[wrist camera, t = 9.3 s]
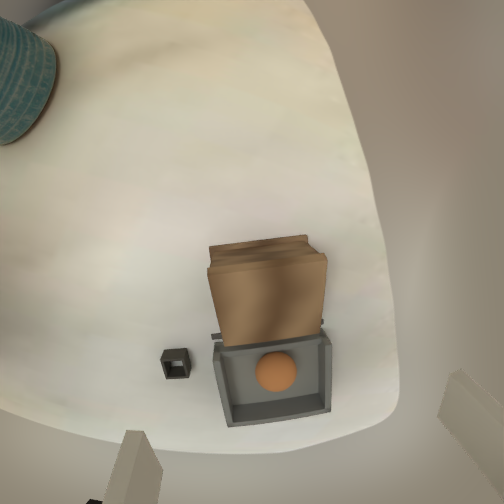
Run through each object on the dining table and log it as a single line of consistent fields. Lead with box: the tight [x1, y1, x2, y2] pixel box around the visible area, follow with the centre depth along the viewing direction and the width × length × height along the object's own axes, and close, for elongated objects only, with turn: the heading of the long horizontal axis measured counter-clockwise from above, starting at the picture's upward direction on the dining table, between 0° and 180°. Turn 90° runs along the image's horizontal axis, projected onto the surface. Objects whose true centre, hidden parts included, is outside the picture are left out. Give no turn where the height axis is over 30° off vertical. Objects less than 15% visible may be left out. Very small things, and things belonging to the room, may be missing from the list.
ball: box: [255, 352, 297, 392], centre depth 35 cm, size 5×5×5 cm
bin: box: [213, 328, 332, 427], centre depth 36 cm, size 14×11×4 cm
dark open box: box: [160, 348, 191, 379], centre depth 36 cm, size 3×3×2 cm
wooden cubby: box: [207, 235, 327, 347], centre depth 31 cm, size 11×10×10 cm
